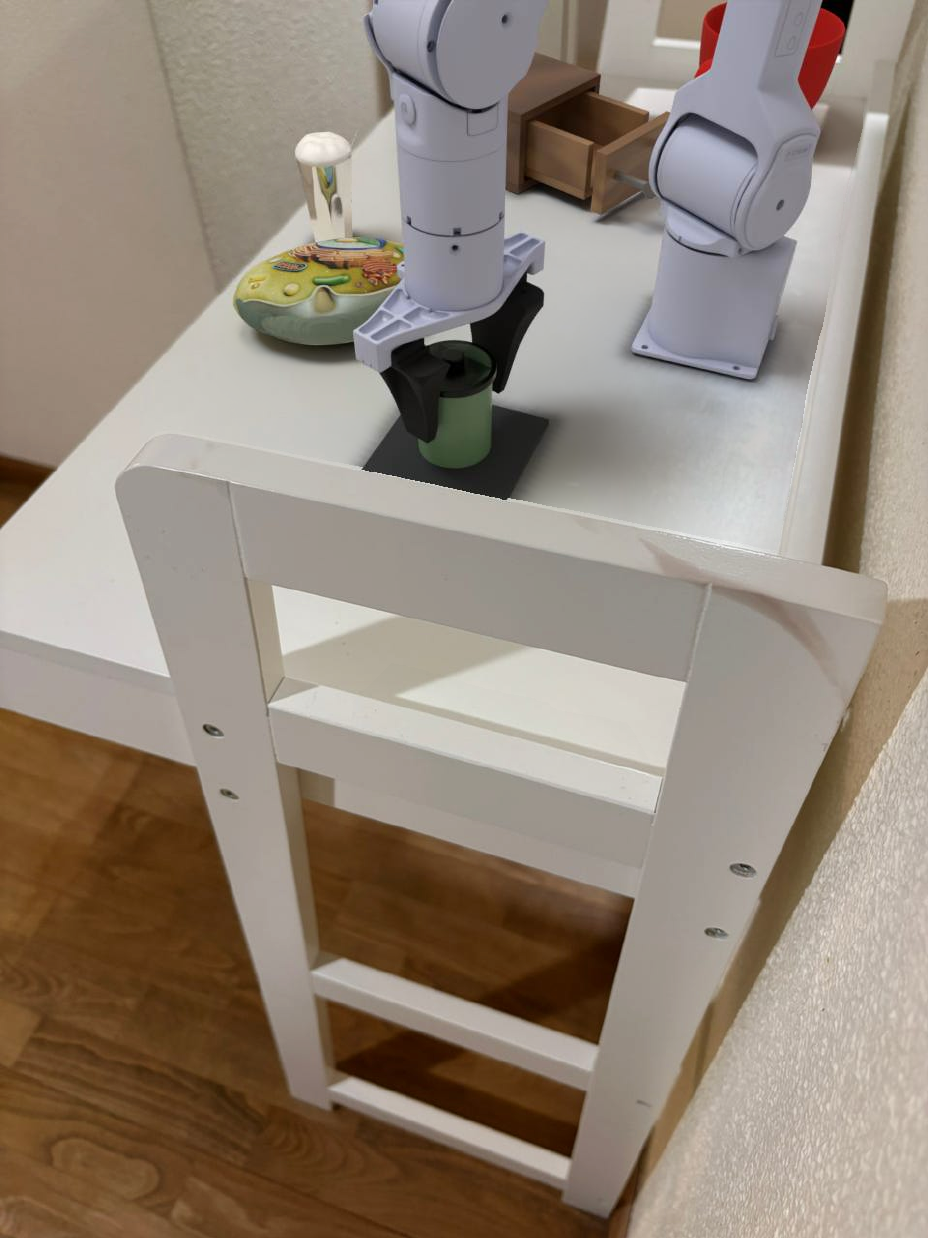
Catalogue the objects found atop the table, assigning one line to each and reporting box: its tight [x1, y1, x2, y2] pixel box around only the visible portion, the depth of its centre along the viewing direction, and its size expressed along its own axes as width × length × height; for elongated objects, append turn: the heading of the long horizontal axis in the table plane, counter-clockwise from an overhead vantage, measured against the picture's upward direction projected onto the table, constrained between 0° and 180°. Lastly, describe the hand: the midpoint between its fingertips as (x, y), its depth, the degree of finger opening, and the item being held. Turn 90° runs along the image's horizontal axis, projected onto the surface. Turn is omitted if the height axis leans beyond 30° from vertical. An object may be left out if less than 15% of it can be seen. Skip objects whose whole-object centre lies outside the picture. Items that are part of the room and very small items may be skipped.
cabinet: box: [505, 51, 602, 195], centre depth 89 cm, size 14×12×7 cm
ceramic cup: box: [693, 1, 846, 111], centre depth 89 cm, size 13×17×10 cm
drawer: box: [524, 90, 671, 216], centre depth 84 cm, size 17×10×5 cm, turn 48°
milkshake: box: [294, 127, 359, 243], centre depth 77 cm, size 4×5×10 cm
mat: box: [361, 404, 550, 501], centre depth 64 cm, size 10×10×1 cm
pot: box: [418, 339, 497, 469], centre depth 61 cm, size 6×6×7 cm
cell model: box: [232, 236, 404, 346], centre depth 71 cm, size 11×8×15 cm
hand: (456, 409), depth 61 cm, fingers open, 6 cm apart
